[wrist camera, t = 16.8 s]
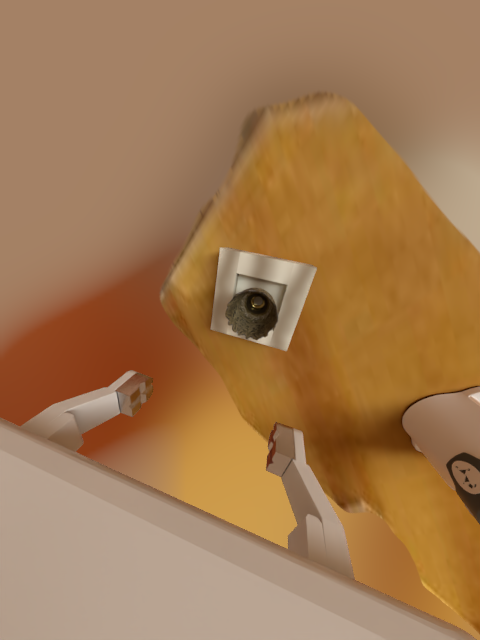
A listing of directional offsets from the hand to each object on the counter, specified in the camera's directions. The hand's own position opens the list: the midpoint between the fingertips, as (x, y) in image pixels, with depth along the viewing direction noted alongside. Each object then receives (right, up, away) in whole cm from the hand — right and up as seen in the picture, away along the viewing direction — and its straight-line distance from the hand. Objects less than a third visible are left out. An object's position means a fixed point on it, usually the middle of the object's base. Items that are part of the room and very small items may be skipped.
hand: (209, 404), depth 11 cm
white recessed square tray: (+6, +10, +23) cm, 26 cm away
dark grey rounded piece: (+5, +9, +20) cm, 23 cm away
